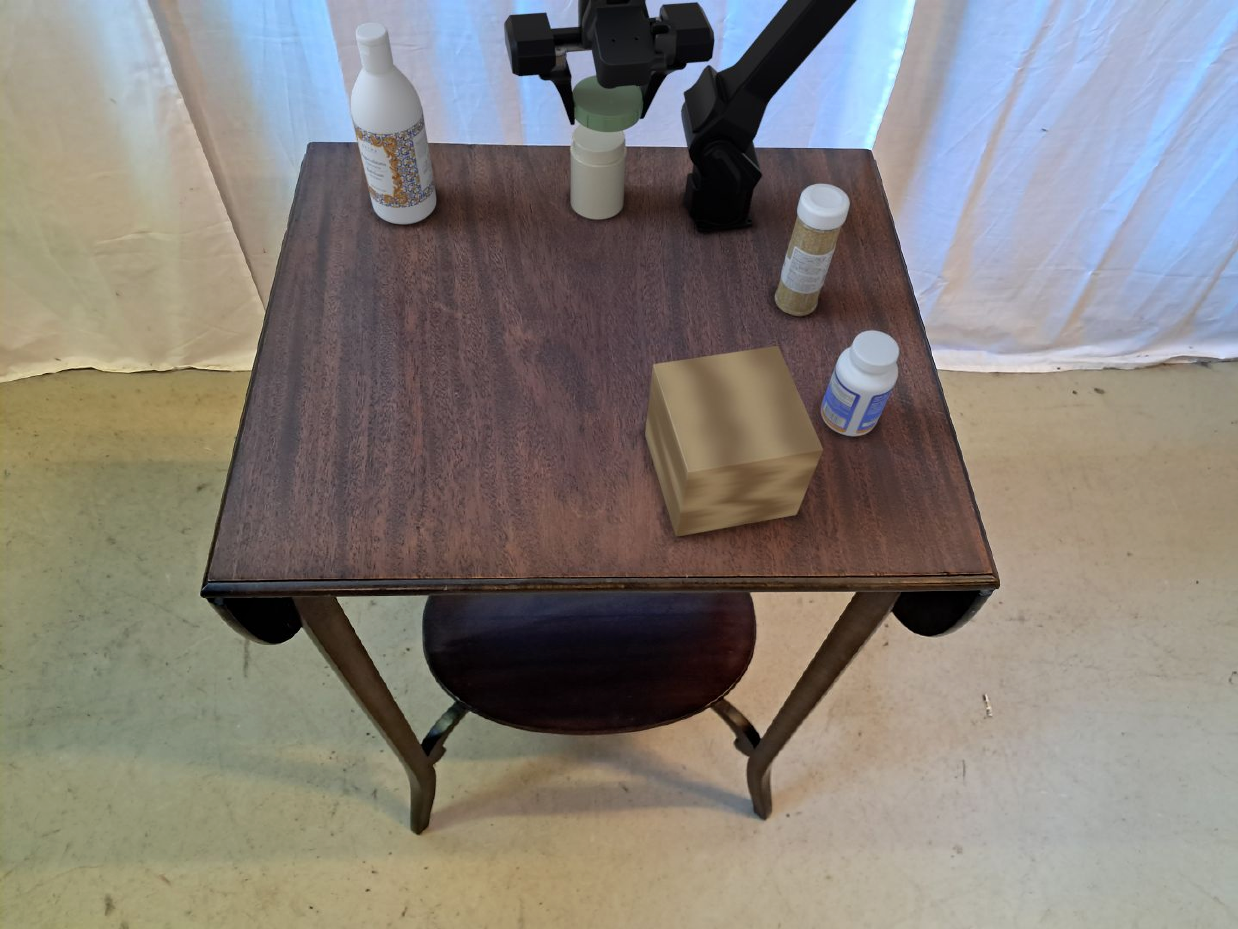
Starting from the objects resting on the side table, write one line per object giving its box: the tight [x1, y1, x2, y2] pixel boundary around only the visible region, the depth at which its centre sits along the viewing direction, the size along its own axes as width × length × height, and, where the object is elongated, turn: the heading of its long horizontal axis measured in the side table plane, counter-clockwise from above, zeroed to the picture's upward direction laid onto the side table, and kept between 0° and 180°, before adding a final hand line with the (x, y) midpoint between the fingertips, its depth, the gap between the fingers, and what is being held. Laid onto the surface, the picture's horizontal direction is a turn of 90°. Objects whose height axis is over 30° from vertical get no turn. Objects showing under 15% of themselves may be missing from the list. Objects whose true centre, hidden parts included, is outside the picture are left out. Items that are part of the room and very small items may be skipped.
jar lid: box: [572, 74, 643, 132], centre depth 86 cm, size 7×7×2 cm
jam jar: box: [569, 123, 628, 220], centre depth 95 cm, size 6×6×9 cm
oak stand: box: [644, 345, 824, 537], centre depth 75 cm, size 11×11×10 cm
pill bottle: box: [820, 330, 900, 437], centre depth 79 cm, size 5×5×10 cm
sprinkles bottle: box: [774, 183, 850, 317], centre depth 86 cm, size 5×5×14 cm
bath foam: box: [350, 22, 437, 225], centre depth 89 cm, size 7×7×20 cm
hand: (606, 119), depth 88 cm, fingers closed on jar lid, 7 cm apart
